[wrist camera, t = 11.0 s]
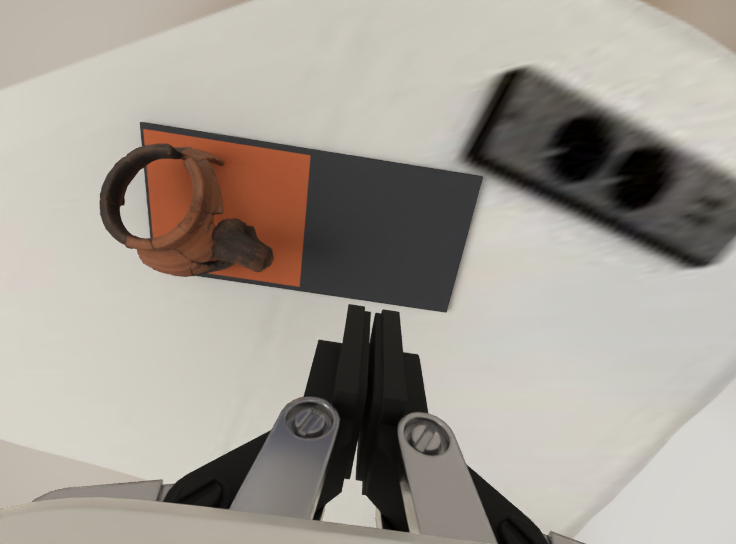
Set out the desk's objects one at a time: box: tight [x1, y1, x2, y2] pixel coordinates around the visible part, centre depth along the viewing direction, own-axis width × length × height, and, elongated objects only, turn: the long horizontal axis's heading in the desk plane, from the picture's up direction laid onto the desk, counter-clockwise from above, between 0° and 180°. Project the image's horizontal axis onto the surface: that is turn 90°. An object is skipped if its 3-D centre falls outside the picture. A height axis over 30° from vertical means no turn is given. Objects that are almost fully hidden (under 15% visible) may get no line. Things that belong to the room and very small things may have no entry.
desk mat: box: [140, 122, 483, 312], centre depth 30 cm, size 12×26×1 cm, turn 81°
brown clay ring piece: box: [100, 143, 274, 277], centre depth 27 cm, size 12×10×8 cm
